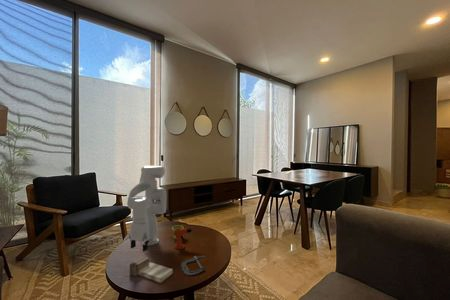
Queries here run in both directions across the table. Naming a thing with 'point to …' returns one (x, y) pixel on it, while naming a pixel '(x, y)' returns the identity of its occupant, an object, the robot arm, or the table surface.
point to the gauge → (138, 265)
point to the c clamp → (191, 262)
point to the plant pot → (176, 228)
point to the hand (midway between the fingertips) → (139, 249)
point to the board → (155, 272)
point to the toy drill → (181, 237)
